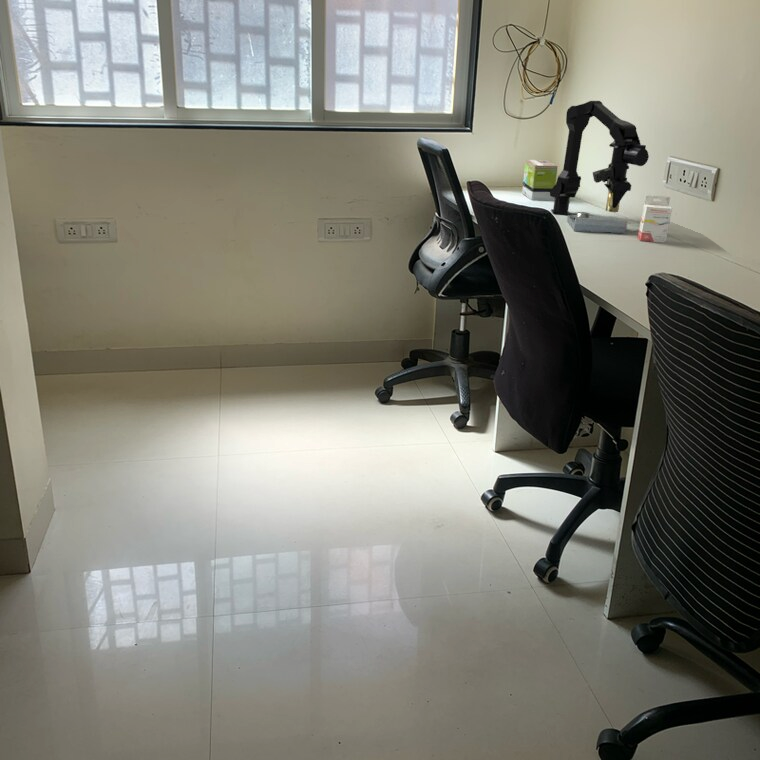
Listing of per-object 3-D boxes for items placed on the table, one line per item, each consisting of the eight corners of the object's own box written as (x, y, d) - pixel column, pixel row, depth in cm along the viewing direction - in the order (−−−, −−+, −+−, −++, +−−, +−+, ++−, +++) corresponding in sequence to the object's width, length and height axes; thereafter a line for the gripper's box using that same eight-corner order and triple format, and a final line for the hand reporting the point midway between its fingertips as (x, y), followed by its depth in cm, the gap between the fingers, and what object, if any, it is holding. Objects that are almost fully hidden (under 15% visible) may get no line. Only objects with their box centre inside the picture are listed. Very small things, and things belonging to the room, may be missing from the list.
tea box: (521, 194, 339) (524, 159, 333) (543, 194, 340) (547, 159, 335) (530, 200, 326) (535, 164, 320) (554, 201, 327) (558, 165, 321)
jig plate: (566, 221, 289) (568, 209, 287) (615, 224, 288) (617, 211, 286) (574, 231, 274) (575, 218, 272) (625, 233, 273) (627, 221, 272)
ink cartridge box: (640, 241, 264) (648, 197, 258) (637, 237, 268) (644, 194, 263) (666, 242, 263) (674, 198, 257) (662, 239, 268) (670, 196, 262)
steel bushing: (574, 225, 283) (576, 211, 281) (586, 225, 283) (588, 212, 281) (576, 227, 279) (578, 214, 277) (588, 228, 279) (590, 214, 277)
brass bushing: (616, 209, 280) (620, 190, 278) (619, 212, 276) (622, 192, 274) (604, 209, 281) (607, 189, 278) (606, 211, 277) (610, 191, 274)
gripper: (591, 156, 280) (585, 200, 287) (601, 164, 263) (594, 210, 270) (622, 158, 280) (615, 202, 286) (635, 166, 263) (627, 212, 269)
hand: (612, 206), depth 278 cm, fingers closed on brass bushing, 4 cm apart
